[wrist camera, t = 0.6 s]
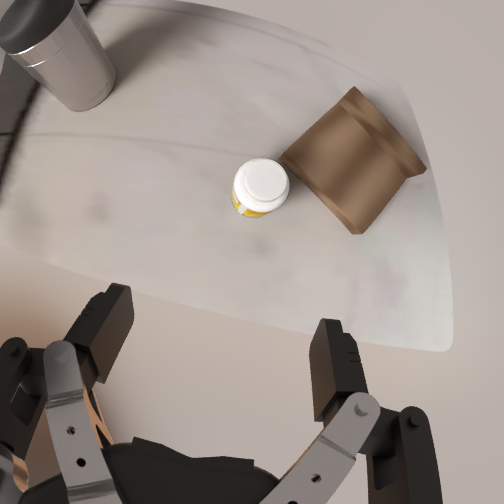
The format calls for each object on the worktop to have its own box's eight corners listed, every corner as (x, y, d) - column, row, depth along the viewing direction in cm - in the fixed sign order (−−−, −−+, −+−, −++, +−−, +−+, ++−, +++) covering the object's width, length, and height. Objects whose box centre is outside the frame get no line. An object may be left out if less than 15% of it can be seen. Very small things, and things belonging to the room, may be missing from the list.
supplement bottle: (283, 196, 36) (308, 181, 26) (253, 227, 36) (267, 222, 26) (252, 165, 36) (265, 138, 25) (221, 195, 35) (222, 178, 25)
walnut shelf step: (279, 158, 36) (292, 141, 29) (334, 107, 37) (354, 85, 30) (352, 234, 38) (379, 233, 31) (398, 177, 38) (427, 168, 31)
